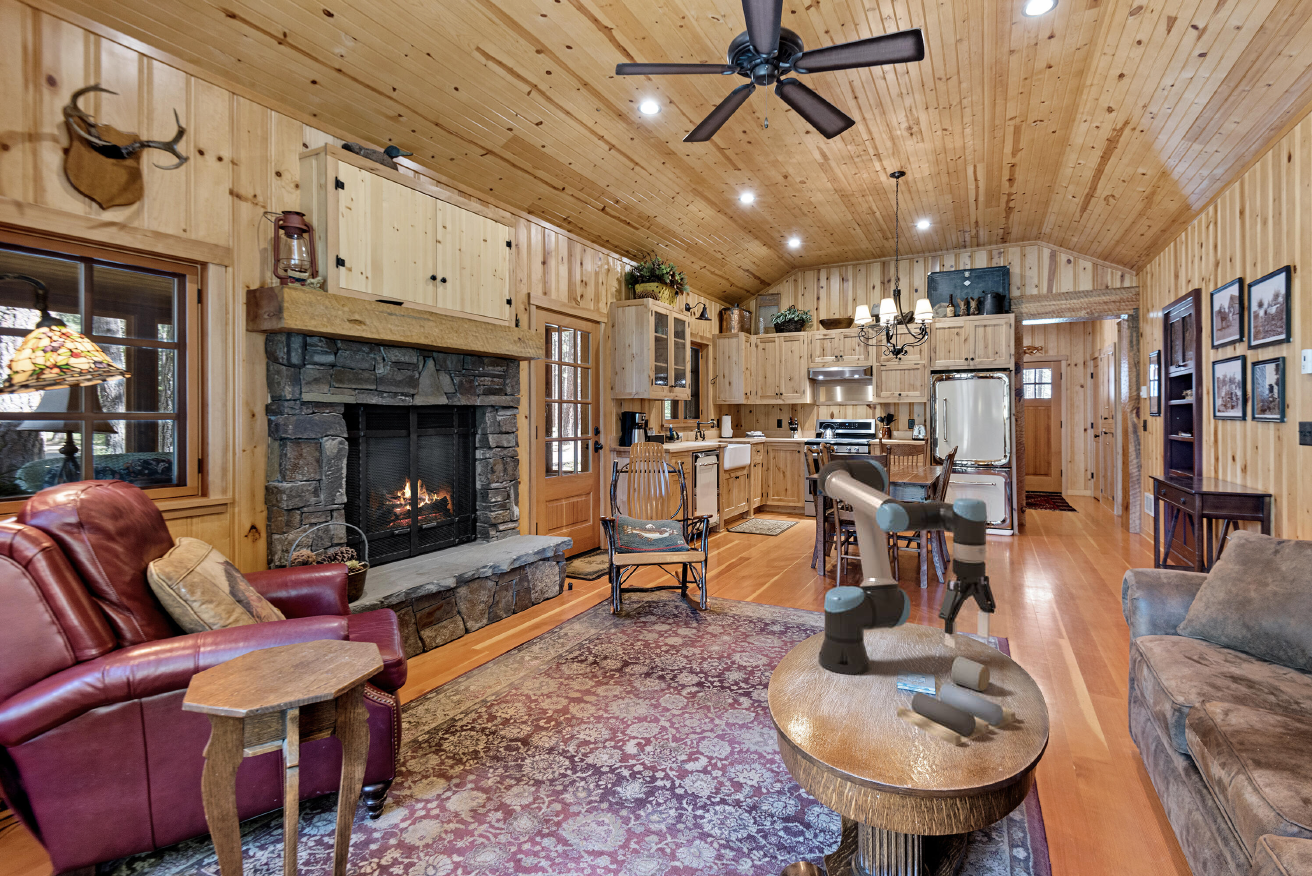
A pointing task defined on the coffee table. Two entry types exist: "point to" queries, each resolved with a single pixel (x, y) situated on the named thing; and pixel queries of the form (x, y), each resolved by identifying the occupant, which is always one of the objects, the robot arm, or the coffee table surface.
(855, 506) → the robot arm
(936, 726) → the slot rack
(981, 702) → the gray dowel
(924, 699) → the charcoal rod
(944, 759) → the coffee table surface
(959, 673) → the ceramic mug
